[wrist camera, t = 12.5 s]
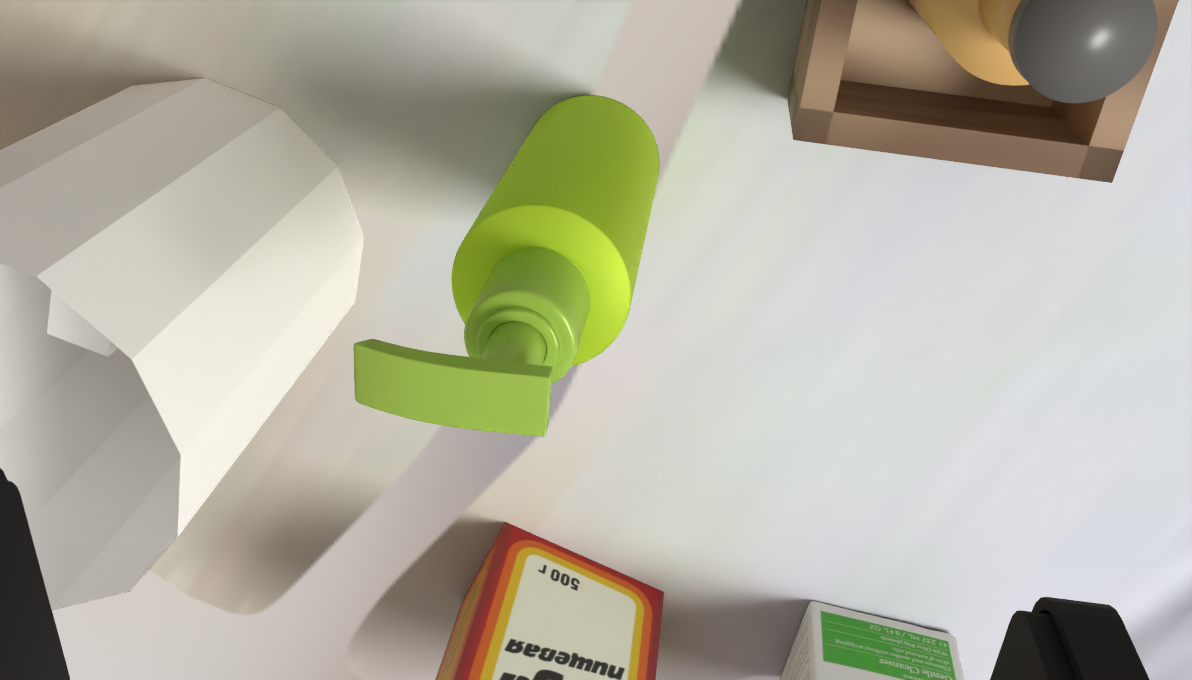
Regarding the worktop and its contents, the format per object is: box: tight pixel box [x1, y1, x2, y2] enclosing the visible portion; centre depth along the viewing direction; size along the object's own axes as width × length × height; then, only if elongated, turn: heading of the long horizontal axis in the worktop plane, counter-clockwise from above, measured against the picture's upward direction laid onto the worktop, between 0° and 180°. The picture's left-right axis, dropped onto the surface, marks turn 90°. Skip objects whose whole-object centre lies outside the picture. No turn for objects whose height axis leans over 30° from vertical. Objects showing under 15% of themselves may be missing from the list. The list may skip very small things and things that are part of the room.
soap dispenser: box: [354, 95, 660, 436], centre depth 35 cm, size 6×7×20 cm
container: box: [0, 78, 364, 610], centre depth 41 cm, size 14×14×18 cm
